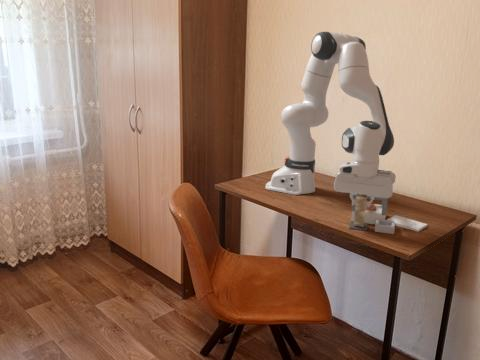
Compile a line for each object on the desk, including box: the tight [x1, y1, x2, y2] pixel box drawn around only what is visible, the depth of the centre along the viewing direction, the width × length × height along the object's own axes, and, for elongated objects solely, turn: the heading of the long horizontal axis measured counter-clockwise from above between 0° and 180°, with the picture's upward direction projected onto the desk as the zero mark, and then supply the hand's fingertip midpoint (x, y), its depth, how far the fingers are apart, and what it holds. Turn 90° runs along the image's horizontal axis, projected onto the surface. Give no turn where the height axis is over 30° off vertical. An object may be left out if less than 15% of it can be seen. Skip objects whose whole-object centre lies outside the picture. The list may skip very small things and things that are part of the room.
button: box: [366, 202, 375, 211], centre depth 177 cm, size 4×4×4 cm
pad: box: [349, 221, 368, 232], centre depth 168 cm, size 6×6×1 cm
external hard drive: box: [386, 214, 428, 233], centre depth 173 cm, size 2×8×12 cm
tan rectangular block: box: [354, 194, 368, 227], centre depth 167 cm, size 4×4×11 cm
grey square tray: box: [374, 219, 396, 235], centre depth 167 cm, size 6×6×2 cm
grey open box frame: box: [350, 194, 389, 225], centre depth 176 cm, size 12×12×10 cm
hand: (360, 205), depth 166 cm, fingers closed on tan rectangular block, 3 cm apart
